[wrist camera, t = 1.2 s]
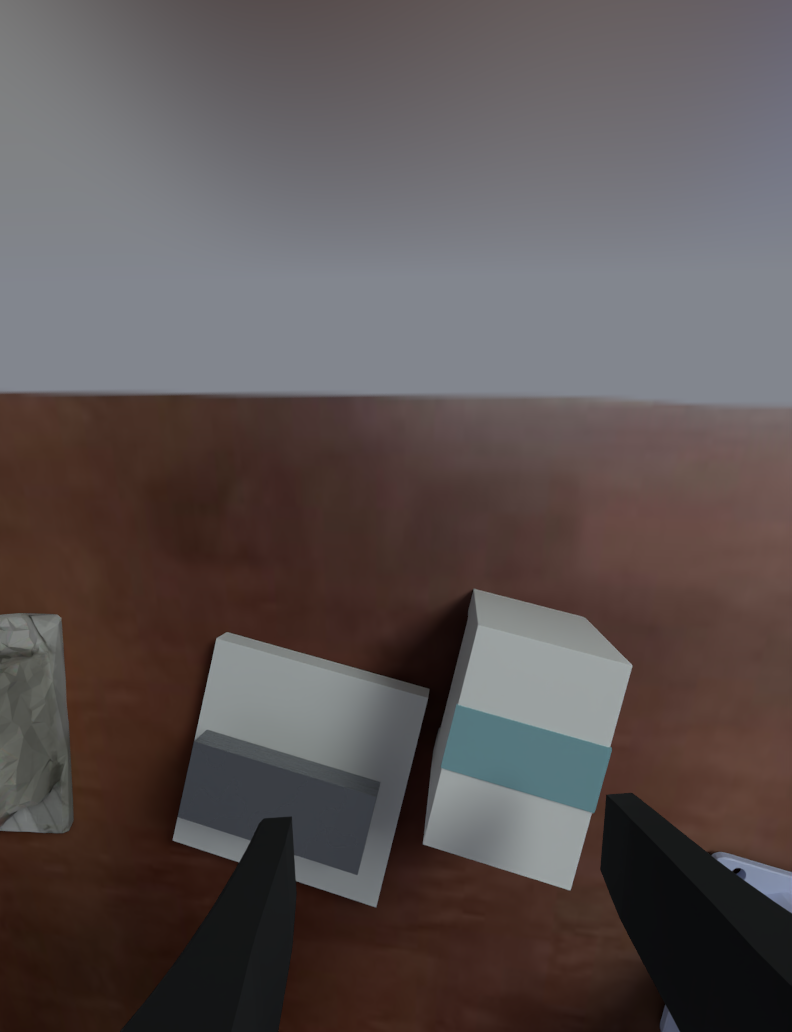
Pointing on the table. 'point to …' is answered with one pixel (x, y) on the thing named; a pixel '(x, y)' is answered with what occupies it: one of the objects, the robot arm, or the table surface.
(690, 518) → the table surface
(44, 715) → the packaged product
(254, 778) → the dark grey flat block
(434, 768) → the block
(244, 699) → the base
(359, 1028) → the table surface
